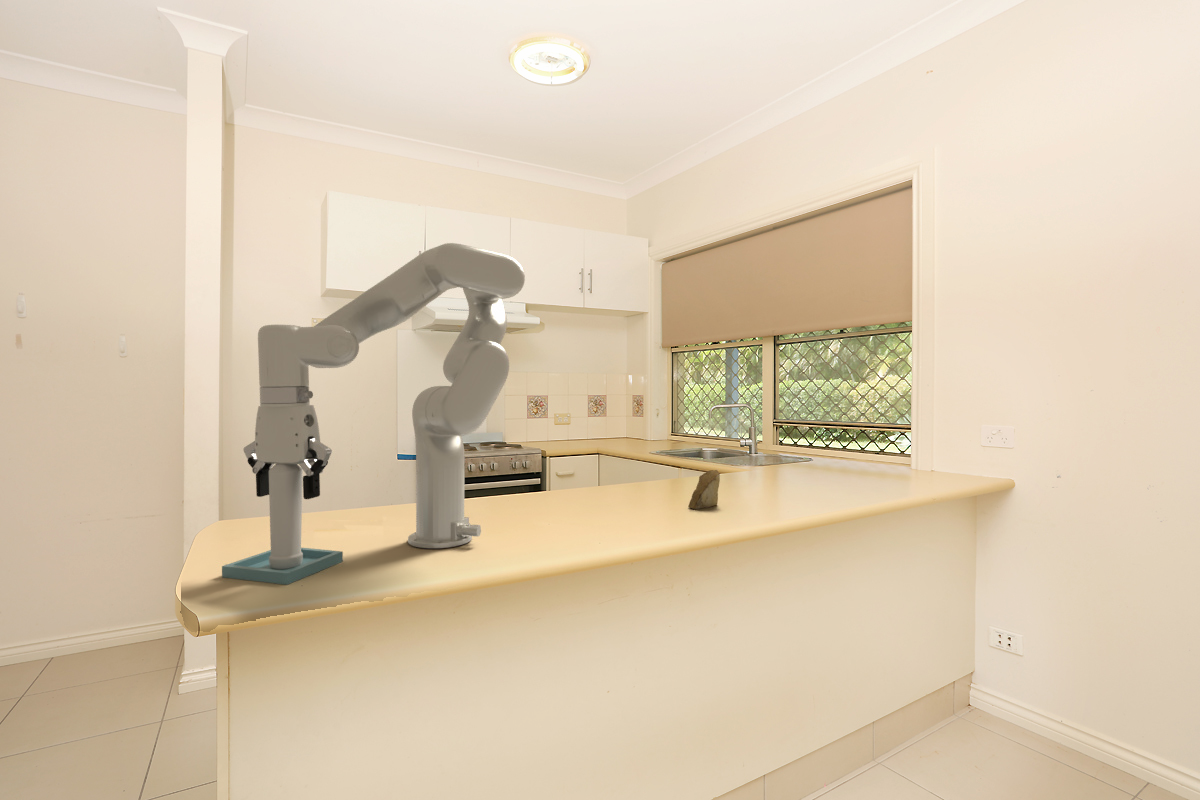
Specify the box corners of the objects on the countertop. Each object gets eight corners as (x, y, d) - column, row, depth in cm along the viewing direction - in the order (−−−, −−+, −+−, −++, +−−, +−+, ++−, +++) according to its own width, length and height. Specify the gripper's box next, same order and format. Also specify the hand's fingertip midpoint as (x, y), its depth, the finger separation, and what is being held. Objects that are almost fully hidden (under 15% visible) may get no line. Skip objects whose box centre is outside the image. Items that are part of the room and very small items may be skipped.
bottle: (268, 571, 99) (267, 421, 99) (269, 563, 104) (269, 420, 104) (303, 567, 102) (302, 420, 101) (302, 559, 106) (302, 419, 106)
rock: (695, 503, 151) (730, 496, 154) (683, 474, 156) (717, 467, 159) (684, 521, 160) (717, 513, 163) (673, 492, 164) (705, 486, 167)
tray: (342, 561, 107) (342, 551, 107) (287, 584, 95) (287, 573, 95) (283, 555, 111) (283, 545, 111) (222, 577, 98) (221, 566, 98)
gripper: (342, 396, 103) (345, 494, 104) (261, 396, 108) (265, 490, 109) (311, 398, 96) (314, 503, 97) (225, 398, 101) (229, 498, 101)
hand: (288, 496), depth 103 cm, fingers open, 9 cm apart
